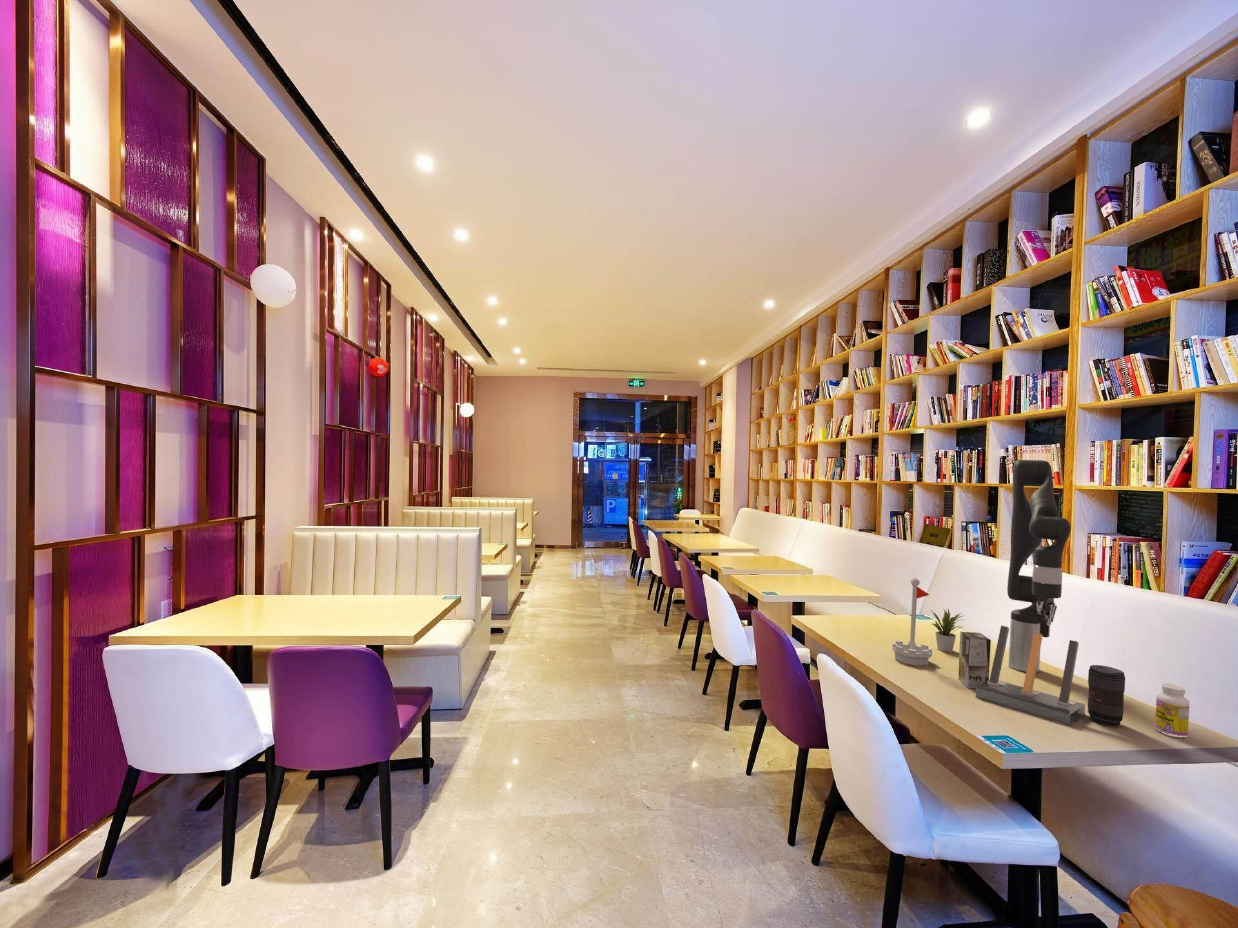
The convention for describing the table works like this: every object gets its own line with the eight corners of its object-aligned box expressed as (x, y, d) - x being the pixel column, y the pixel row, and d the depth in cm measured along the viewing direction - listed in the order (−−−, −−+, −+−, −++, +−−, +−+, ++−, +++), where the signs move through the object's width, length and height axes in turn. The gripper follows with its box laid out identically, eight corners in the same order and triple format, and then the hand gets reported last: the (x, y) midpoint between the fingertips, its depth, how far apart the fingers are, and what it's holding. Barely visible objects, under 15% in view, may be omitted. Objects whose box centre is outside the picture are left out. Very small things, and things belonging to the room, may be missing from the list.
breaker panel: (993, 688, 194) (993, 676, 194) (1084, 714, 176) (1085, 701, 176) (975, 696, 186) (976, 684, 186) (1069, 725, 167) (1070, 711, 167)
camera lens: (1079, 718, 173) (1082, 665, 173) (1097, 714, 176) (1099, 663, 176) (1112, 729, 165) (1114, 675, 165) (1129, 726, 168) (1132, 672, 169)
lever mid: (1021, 694, 181) (1033, 633, 186) (1032, 697, 179) (1044, 635, 184) (1020, 693, 180) (1032, 631, 185) (1031, 696, 178) (1042, 634, 183)
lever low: (988, 685, 188) (1001, 626, 193) (998, 688, 186) (1011, 628, 191) (986, 683, 187) (999, 625, 192) (996, 686, 185) (1009, 627, 190)
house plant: (976, 657, 228) (978, 614, 228) (939, 655, 228) (941, 612, 229) (956, 646, 243) (958, 605, 243) (921, 644, 243) (923, 603, 243)
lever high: (1057, 705, 174) (1069, 641, 179) (1069, 708, 172) (1080, 643, 177) (1056, 703, 173) (1067, 639, 178) (1067, 706, 171) (1079, 641, 176)
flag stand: (885, 658, 221) (889, 576, 221) (900, 652, 230) (904, 573, 230) (922, 668, 212) (927, 582, 212) (937, 661, 220) (941, 579, 220)
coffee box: (989, 690, 192) (991, 639, 192) (967, 688, 193) (969, 637, 194) (978, 681, 201) (980, 632, 201) (957, 678, 202) (959, 630, 202)
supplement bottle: (1148, 728, 168) (1150, 681, 168) (1170, 728, 168) (1172, 682, 169) (1172, 739, 161) (1174, 690, 161) (1194, 739, 162) (1197, 691, 162)
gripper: (1040, 577, 195) (1037, 630, 195) (1025, 580, 187) (1022, 636, 187) (1068, 581, 189) (1065, 636, 189) (1054, 584, 181) (1051, 642, 181)
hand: (1044, 636), depth 188 cm, fingers closed
